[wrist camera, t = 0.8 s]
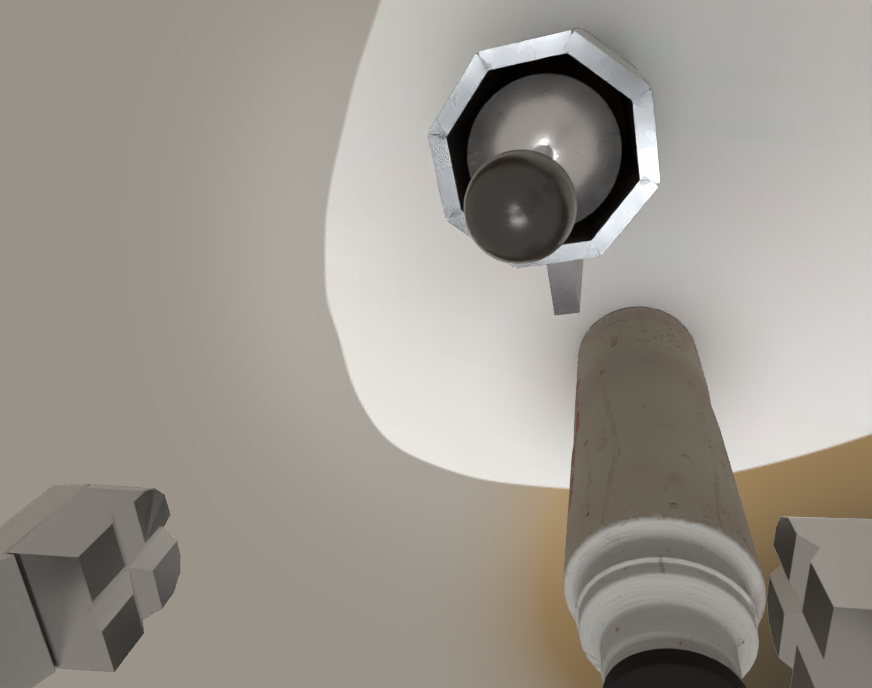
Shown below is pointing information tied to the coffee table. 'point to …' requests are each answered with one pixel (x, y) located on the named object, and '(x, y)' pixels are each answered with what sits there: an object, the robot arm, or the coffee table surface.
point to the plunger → (538, 165)
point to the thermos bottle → (656, 516)
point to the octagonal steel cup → (633, 115)
